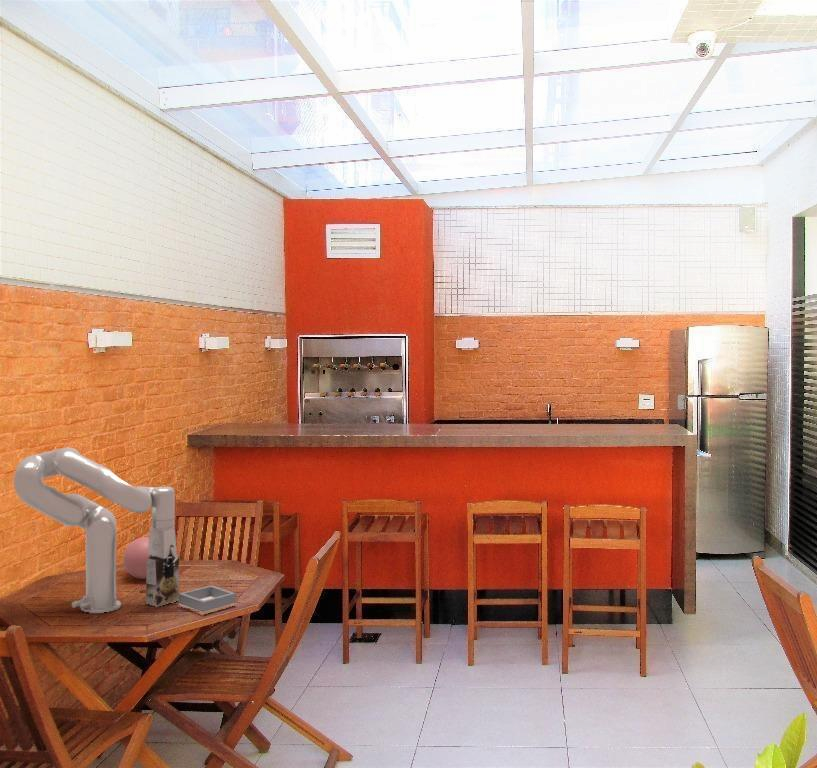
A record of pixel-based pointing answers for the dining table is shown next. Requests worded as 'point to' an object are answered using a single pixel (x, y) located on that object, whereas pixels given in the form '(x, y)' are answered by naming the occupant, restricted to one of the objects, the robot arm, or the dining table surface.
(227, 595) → the holder
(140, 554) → the balloon
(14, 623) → the dining table surface
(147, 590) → the coffee box
